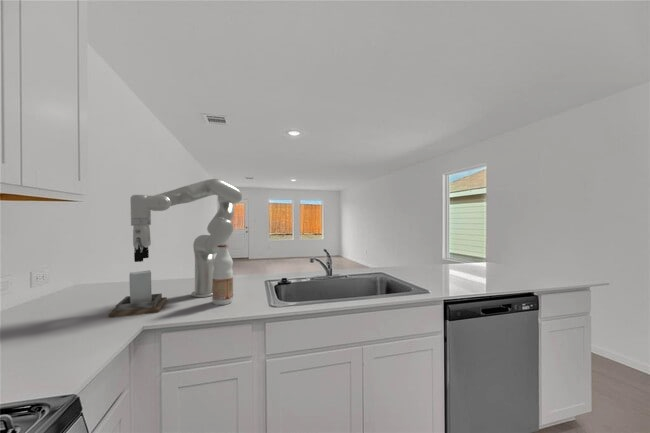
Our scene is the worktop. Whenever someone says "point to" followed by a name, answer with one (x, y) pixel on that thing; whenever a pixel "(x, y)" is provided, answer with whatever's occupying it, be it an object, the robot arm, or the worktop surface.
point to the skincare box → (140, 287)
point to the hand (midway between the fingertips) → (141, 259)
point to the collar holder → (138, 306)
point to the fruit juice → (222, 277)
